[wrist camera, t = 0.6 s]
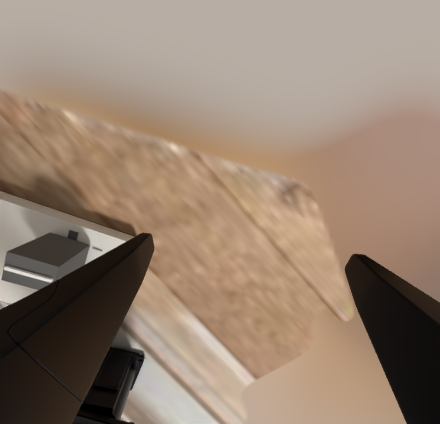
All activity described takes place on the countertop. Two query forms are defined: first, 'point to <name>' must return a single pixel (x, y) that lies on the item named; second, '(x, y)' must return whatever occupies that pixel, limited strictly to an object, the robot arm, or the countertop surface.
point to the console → (43, 224)
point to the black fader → (43, 260)
